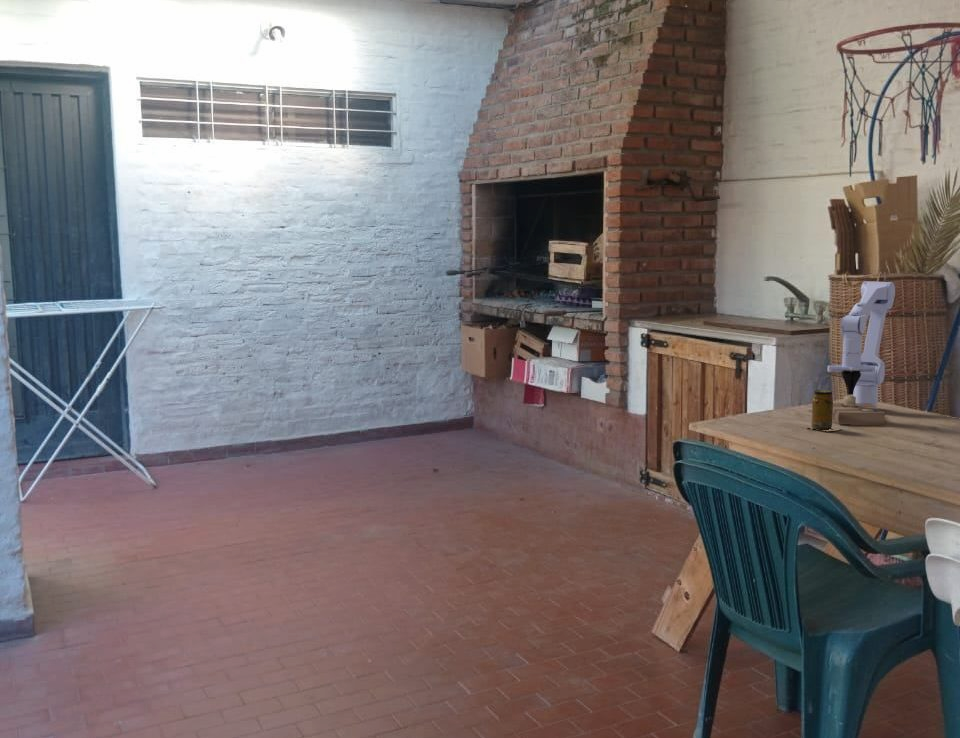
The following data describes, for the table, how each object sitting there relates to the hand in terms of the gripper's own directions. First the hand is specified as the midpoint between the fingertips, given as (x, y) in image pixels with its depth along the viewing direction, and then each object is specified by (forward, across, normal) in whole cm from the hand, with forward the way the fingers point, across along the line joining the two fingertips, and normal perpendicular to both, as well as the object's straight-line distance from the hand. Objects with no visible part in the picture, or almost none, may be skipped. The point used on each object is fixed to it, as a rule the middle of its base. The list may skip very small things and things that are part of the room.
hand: (850, 394), depth 325 cm
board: (+8, +1, -3) cm, 9 cm away
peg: (+5, 0, 0) cm, 5 cm away
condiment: (+8, -12, -18) cm, 23 cm away
